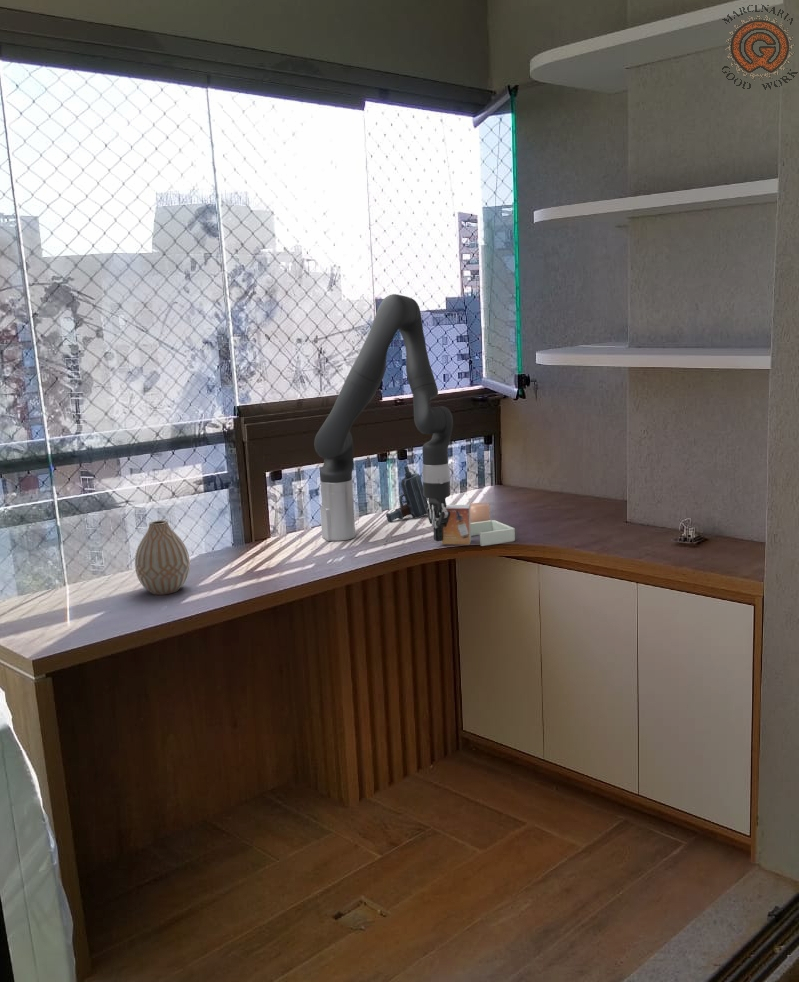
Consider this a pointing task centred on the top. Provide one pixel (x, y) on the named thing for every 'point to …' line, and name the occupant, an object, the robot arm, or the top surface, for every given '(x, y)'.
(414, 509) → the gun
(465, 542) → the small box
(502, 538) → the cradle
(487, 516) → the tan square slab
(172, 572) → the vase
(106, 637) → the top surface
